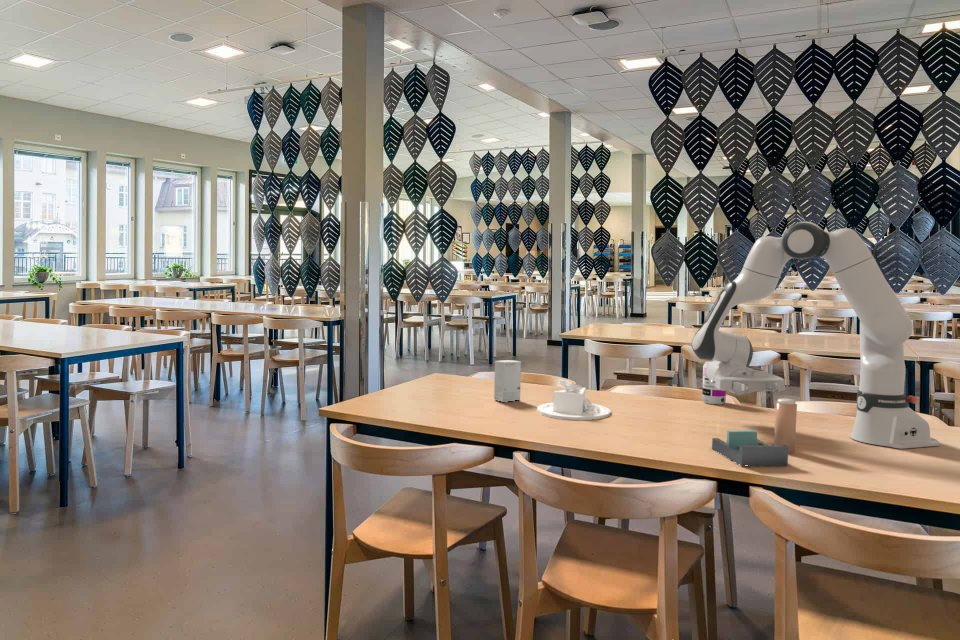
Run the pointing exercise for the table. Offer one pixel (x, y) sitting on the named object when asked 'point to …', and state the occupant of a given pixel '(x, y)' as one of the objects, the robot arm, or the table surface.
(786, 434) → the slim pink can
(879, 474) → the table surface
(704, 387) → the supplement can
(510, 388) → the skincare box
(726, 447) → the grey open tray
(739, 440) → the block
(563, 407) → the dish
